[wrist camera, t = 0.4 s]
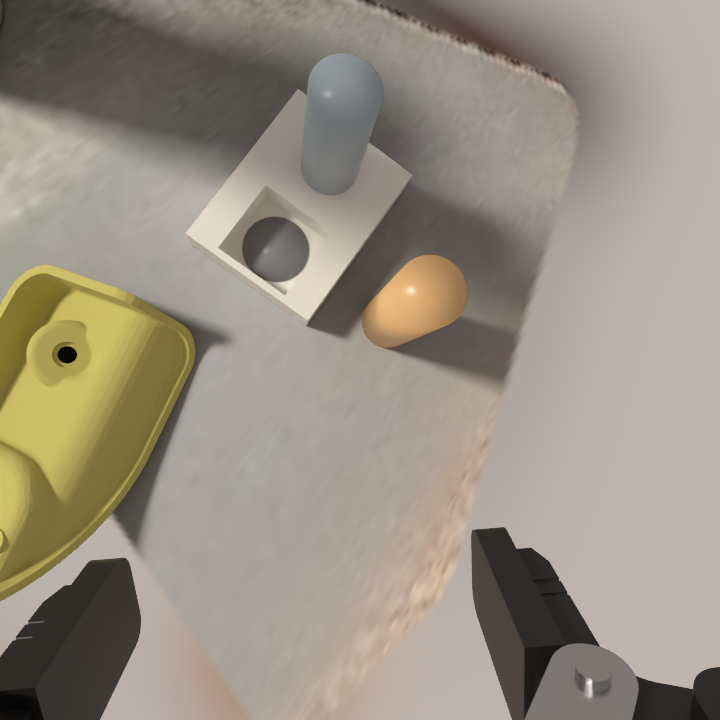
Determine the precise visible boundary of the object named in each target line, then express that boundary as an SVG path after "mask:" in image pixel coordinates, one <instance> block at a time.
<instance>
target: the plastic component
mask: <svg viewBox="0 0 720 720" xmlns="http://www.w3.org/2000/svg"><path fill="white" fill-rule="evenodd" d="M65 346H69V347H72V348H74V349H75V350H76V352H77V357H76V360H75V361H73V362H72V363H63V362H61V361H60V360H59V358H58V351H59V350H60V349H61V348H63V347H65ZM194 360H195V343H194V339H193V337H192V335H191V333H190V331H189V330H188V329H187V328H186V327H185V326H184V325H183V324H181V323H179V322H178V321H176V320H174V319H173V318H171V317H169V316H168V315H166V314H164V313H163V312H161V311H159V310H157V309H156V308H154V307H152V306H151V305H149V304H147V303H146V302H144V301H142V300H141V299H139V298H137V297H135V296H133V295H131V294H129V293H127V292H125V291H122V290H120V289H118V288H115V287H112V286H109V285H106V284H103V283H100V282H98V281H95V280H92V279H89V278H86V277H83V276H80V275H78V274H75V273H72V272H69V271H66V270H63V269H60V268H57V267H55V266H51V265H42V266H37V267H35V268H32V269H30V270H28V271H27V272H25V273H24V274H22V275H21V276H20V277H19V278H18V279H17V280H16V281H15V282H14V284H13V285H12V286H11V287H10V289H9V291H8V293H7V294H6V296H5V298H4V299H3V301H2V303H1V305H0V601H2V600H3V599H5V598H7V597H9V596H11V595H12V594H14V593H16V592H17V591H19V590H21V589H23V588H24V587H26V586H27V585H29V584H30V583H32V582H33V581H35V580H36V579H38V578H39V577H41V576H42V575H44V574H45V573H46V572H48V571H49V570H50V569H51V568H53V567H54V566H56V565H57V564H58V563H60V562H61V561H62V560H63V559H64V558H66V557H67V556H68V555H69V554H71V553H72V552H73V551H74V550H75V549H76V548H78V547H79V546H80V545H81V544H82V543H83V542H84V541H85V540H86V539H87V538H88V537H89V536H91V535H92V534H93V533H94V532H95V531H96V530H97V528H98V527H99V526H100V525H101V524H102V523H103V522H104V521H105V520H106V519H107V518H108V517H109V516H110V515H111V513H112V512H113V511H114V510H115V508H116V507H117V506H118V505H119V503H120V502H121V501H122V499H123V498H124V497H125V496H126V494H127V493H128V491H129V490H130V488H131V487H132V485H133V484H134V482H135V481H136V479H137V478H138V476H139V474H140V473H141V471H142V470H143V468H144V466H145V465H146V463H147V461H148V459H149V457H150V455H151V452H152V450H153V448H154V446H155V444H156V442H157V440H158V438H159V436H160V434H161V432H162V430H163V428H164V426H165V423H166V421H167V419H168V417H169V415H170V413H171V411H172V409H173V407H174V405H175V403H176V401H177V399H178V397H179V394H180V392H181V390H182V388H183V386H184V384H185V382H186V380H187V378H188V376H189V374H190V372H191V370H192V368H193V365H194Z"/></svg>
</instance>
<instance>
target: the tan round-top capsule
mask: <svg viewBox="0 0 720 720" xmlns="http://www.w3.org/2000/svg"><path fill="white" fill-rule="evenodd" d="M467 295H468V292H467V284H466V281H465V278H464V276H463V274H462V272H461V271H460V270H459V268H458V267H457V266H456V265H455V264H454V263H452V262H451V261H450V260H448V259H446V258H444V257H441V256H438V255H423V256H419V257H416V258H414V259H412V260H411V261H409V262H408V263H407V264H406V265H405V266H404V267H403V268H402V269H401V270H400V271H399V272H398V273H397V274H396V275H395V276H394V277H393V278H392V279H391V280H390V282H389V283H388V284H387V285H386V286H385V287H384V288H383V289H382V290H381V291H380V292H379V293H378V294H377V295H376V296H375V297H374V298H373V299H372V300H371V301H370V302H369V304H368V305H367V306H366V307H365V309H364V311H363V314H362V328H363V331H364V333H365V335H366V337H367V338H368V339H369V340H370V341H371V342H372V343H374V344H375V345H377V346H380V347H384V348H392V347H396V346H399V345H401V344H404V343H406V342H409V341H411V340H413V339H416V338H418V337H421V336H423V335H425V334H428V333H430V332H433V331H435V330H438V329H440V328H442V327H445V326H447V325H449V324H451V323H452V322H454V321H455V320H456V319H457V318H458V317H459V316H460V315H461V313H462V312H463V310H464V308H465V305H466V302H467Z"/></svg>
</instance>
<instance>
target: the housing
mask: <svg viewBox="0 0 720 720" xmlns="http://www.w3.org/2000/svg"><path fill="white" fill-rule="evenodd" d="M382 101H383V85H382V81H381V79H380V77H379V75H378V73H377V71H376V70H375V69H374V68H373V67H372V65H371V64H369V63H368V62H367V61H365V60H364V59H362V58H360V57H358V56H356V55H352V54H347V53H337V54H332V55H329V56H327V57H325V58H323V59H322V60H320V61H319V62H318V63H317V64H316V65H315V66H314V68H313V69H312V71H311V73H310V76H309V79H308V86H307V95H306V94H304V93H303V92H302V91H300V90H299V89H297V91H296V92H295V93H294V95H293V96H292V97H291V98H290V100H289V101H288V102H287V104H286V105H285V106H284V107H283V109H282V110H281V111H280V113H279V114H278V115H277V116H276V118H275V119H274V120H273V122H272V123H271V124H270V125H269V127H268V128H267V129H266V131H265V132H264V133H263V134H262V136H261V137H260V138H259V140H258V141H257V142H256V143H255V145H254V146H253V147H252V149H251V150H250V151H249V152H248V154H247V155H246V156H245V158H244V159H243V160H242V161H241V163H240V164H239V165H238V167H237V168H236V169H235V170H234V172H233V173H232V174H231V176H230V177H229V178H228V179H227V181H226V182H225V183H224V185H223V186H222V187H221V188H220V190H219V191H218V192H217V194H216V195H215V196H214V197H213V199H212V200H211V201H210V203H209V204H208V205H207V206H206V208H205V209H204V210H203V212H202V213H201V214H200V215H199V217H198V218H197V219H196V221H195V222H194V223H193V224H192V226H191V227H190V228H189V230H188V231H187V232H186V233H185V234H186V235H187V237H188V239H189V240H190V242H191V244H192V245H193V246H194V247H195V248H196V249H198V250H199V251H201V252H202V253H204V254H205V255H206V256H208V257H209V258H211V259H212V260H213V261H215V262H216V263H218V264H219V265H220V266H222V267H223V268H225V269H226V270H228V271H229V272H230V273H232V274H233V275H235V276H236V277H237V278H239V279H240V280H242V281H243V282H244V283H246V284H247V285H249V286H250V287H252V288H253V289H254V290H256V291H257V292H259V293H260V294H261V295H263V296H264V297H266V298H267V299H268V300H270V301H271V302H273V303H274V304H276V305H277V306H278V307H280V308H281V309H283V310H284V311H285V312H287V313H288V314H290V315H291V316H292V317H294V318H295V319H297V320H298V321H300V322H301V323H302V324H304V325H305V326H307V324H308V323H309V321H310V320H311V319H312V317H313V316H314V314H315V313H316V312H317V310H318V309H319V307H320V306H321V305H322V303H323V302H324V300H325V299H326V298H327V296H328V295H329V293H330V292H331V291H332V289H333V288H334V287H335V285H336V284H337V282H338V281H339V280H340V278H341V277H342V275H343V274H344V273H345V271H346V270H347V268H348V267H349V266H350V264H351V263H352V261H353V260H354V259H355V257H356V256H357V254H358V253H359V252H360V250H361V249H362V247H363V246H364V245H365V243H366V242H367V240H368V239H369V238H370V236H371V235H372V233H373V232H374V231H375V229H376V228H377V227H378V225H379V224H380V222H381V221H382V220H383V218H384V217H385V215H386V214H387V213H388V211H389V210H390V208H391V207H392V206H393V204H394V203H395V201H396V200H397V199H398V197H399V196H400V194H401V193H402V192H403V190H404V188H405V187H406V185H407V183H408V182H409V180H410V178H411V177H412V174H411V173H409V172H408V171H407V170H405V169H404V168H403V167H401V166H400V165H399V164H397V163H396V162H395V161H393V160H392V159H391V158H389V157H388V156H387V155H385V154H384V153H383V152H381V151H380V150H379V149H377V148H376V147H375V146H373V145H372V144H371V143H369V140H370V137H371V134H372V131H373V128H374V125H375V122H376V119H377V116H378V114H379V111H380V108H381V105H382Z"/></svg>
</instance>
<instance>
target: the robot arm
mask: <svg viewBox="0 0 720 720" xmlns="http://www.w3.org/2000/svg"><path fill="white" fill-rule="evenodd" d="M2 10H3V6H2V1H1V0H0V25H1V22H2ZM471 546H472V547H471V548H472V589H473V598H474V604H475V609H476V613H477V617H478V620H479V623H480V626H481V629H482V632H483V635H484V638H485V641H486V643H487V646H488V649H489V652H490V655H491V658H492V661H493V664H494V667H495V670H496V673H497V676H498V679H499V682H500V685H501V688H502V691H503V694H504V697H505V700H506V703H507V706H508V708H509V712H510V715H511V718H512V720H720V667H717V668H710V669H706V670H704V671H702V672H701V673H699V674H698V675H697V676H696V678H695V681H694V685H693V689H689V688H683V687H678V686H672V685H667V684H661V683H656V682H652V681H648V680H645V679H642V678H639V677H637V676H635V674H634V673H633V671H632V669H631V668H630V667H629V665H628V664H626V662H624V661H623V660H622V659H621V658H620V657H618V656H617V655H616V654H614V653H612V652H610V651H609V650H606V649H604V648H601V647H600V646H599V644H598V642H597V641H596V639H595V638H594V636H593V634H592V632H591V631H590V629H589V628H588V626H587V624H586V622H585V621H584V619H583V617H582V616H581V614H580V613H579V611H578V609H577V607H576V606H575V604H574V603H573V601H572V599H571V597H570V596H569V595H568V594H567V591H566V589H565V588H564V586H563V584H562V583H561V581H559V577H558V576H557V574H556V572H555V571H554V569H553V568H552V566H551V564H550V562H549V561H548V560H546V559H545V558H544V557H543V556H541V555H540V554H539V553H537V552H536V551H534V550H533V549H532V548H524V549H516V547H515V545H514V543H513V541H512V539H511V537H510V536H509V534H508V532H507V530H506V529H505V528H504V527H501V528H489V529H477V530H472V534H471ZM140 628H141V615H140V609H139V605H138V600H137V595H136V591H135V586H134V582H133V577H132V572H131V568H130V564H129V562H128V560H127V559H126V558H117V559H105V560H92V561H90V562H88V563H87V565H86V566H85V567H84V568H83V570H82V571H81V572H80V574H79V575H78V577H77V578H76V579H75V581H74V582H73V583H72V585H67V586H64V587H62V588H61V589H60V590H58V591H57V592H56V593H55V594H53V595H52V596H51V597H49V598H48V599H47V600H45V601H44V602H43V603H42V605H41V606H40V607H39V608H38V609H37V611H36V612H35V613H34V615H33V616H32V617H31V619H30V620H29V621H28V625H25V626H24V627H23V629H22V630H21V631H20V632H19V634H18V635H17V636H16V640H15V641H12V643H11V644H10V645H9V646H8V648H7V649H6V650H5V652H4V653H3V654H2V655H1V657H0V720H100V718H101V716H102V714H103V712H104V710H105V708H106V706H107V704H108V702H109V700H110V698H111V696H112V694H113V691H114V690H115V687H116V685H117V683H118V681H119V679H120V677H121V675H122V673H123V671H124V669H125V667H126V665H127V662H128V661H129V659H130V656H131V654H132V652H133V650H134V648H135V646H136V644H137V642H138V638H139V634H140Z"/></svg>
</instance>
